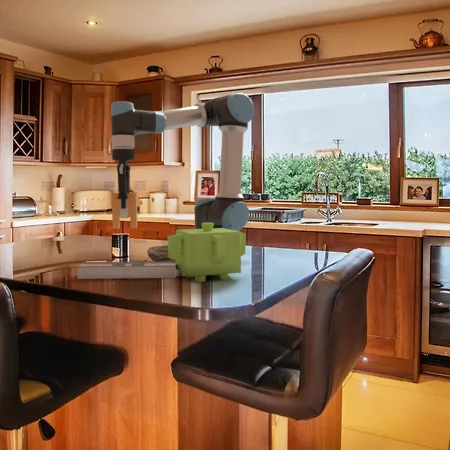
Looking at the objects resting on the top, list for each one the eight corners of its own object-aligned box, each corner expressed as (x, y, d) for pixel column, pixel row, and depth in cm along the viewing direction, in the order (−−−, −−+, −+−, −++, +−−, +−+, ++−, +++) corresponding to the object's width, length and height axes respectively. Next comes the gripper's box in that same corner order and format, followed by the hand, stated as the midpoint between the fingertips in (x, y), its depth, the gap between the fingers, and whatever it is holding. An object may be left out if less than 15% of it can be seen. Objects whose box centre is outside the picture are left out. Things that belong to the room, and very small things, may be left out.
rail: (176, 273, 157) (176, 261, 157) (175, 277, 149) (175, 265, 149) (83, 274, 155) (82, 262, 155) (77, 278, 147) (77, 266, 147)
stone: (157, 257, 168) (151, 235, 173) (147, 274, 174) (141, 252, 180) (191, 258, 175) (184, 236, 180) (180, 274, 181) (174, 252, 187)
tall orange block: (137, 227, 166) (136, 192, 165) (136, 228, 163) (135, 193, 162) (114, 227, 166) (113, 193, 165) (112, 228, 163) (111, 193, 162)
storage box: (180, 288, 134) (180, 226, 133) (158, 274, 155) (158, 221, 154) (260, 281, 144) (260, 224, 143) (229, 269, 165) (229, 219, 164)
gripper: (115, 150, 170) (117, 216, 172) (107, 146, 154) (109, 219, 156) (137, 150, 171) (138, 216, 173) (131, 146, 155) (133, 219, 157)
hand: (124, 217), depth 164 cm, fingers closed on tall orange block, 3 cm apart
